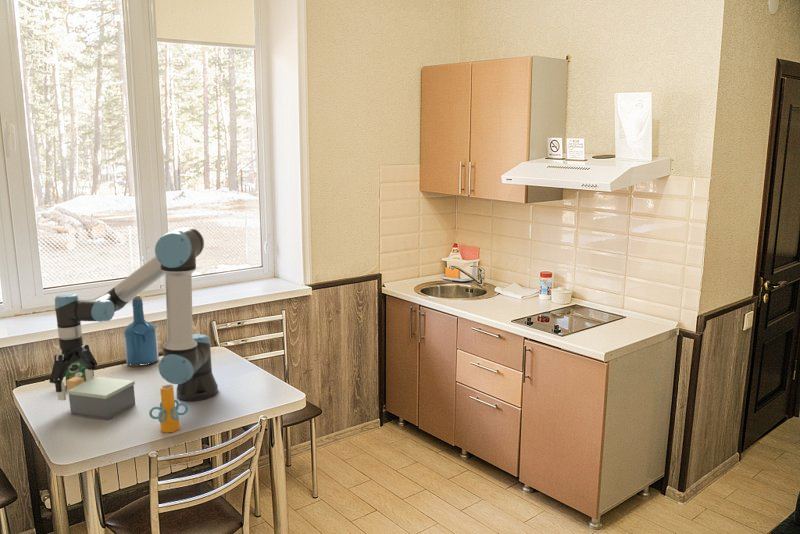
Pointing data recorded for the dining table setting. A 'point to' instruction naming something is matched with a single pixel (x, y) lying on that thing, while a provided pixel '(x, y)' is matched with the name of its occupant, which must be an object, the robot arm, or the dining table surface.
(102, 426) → the dining table surface
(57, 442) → the dining table surface
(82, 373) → the coffee box
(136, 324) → the wine bottle
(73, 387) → the lid
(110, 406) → the tub
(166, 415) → the orange post with rings
